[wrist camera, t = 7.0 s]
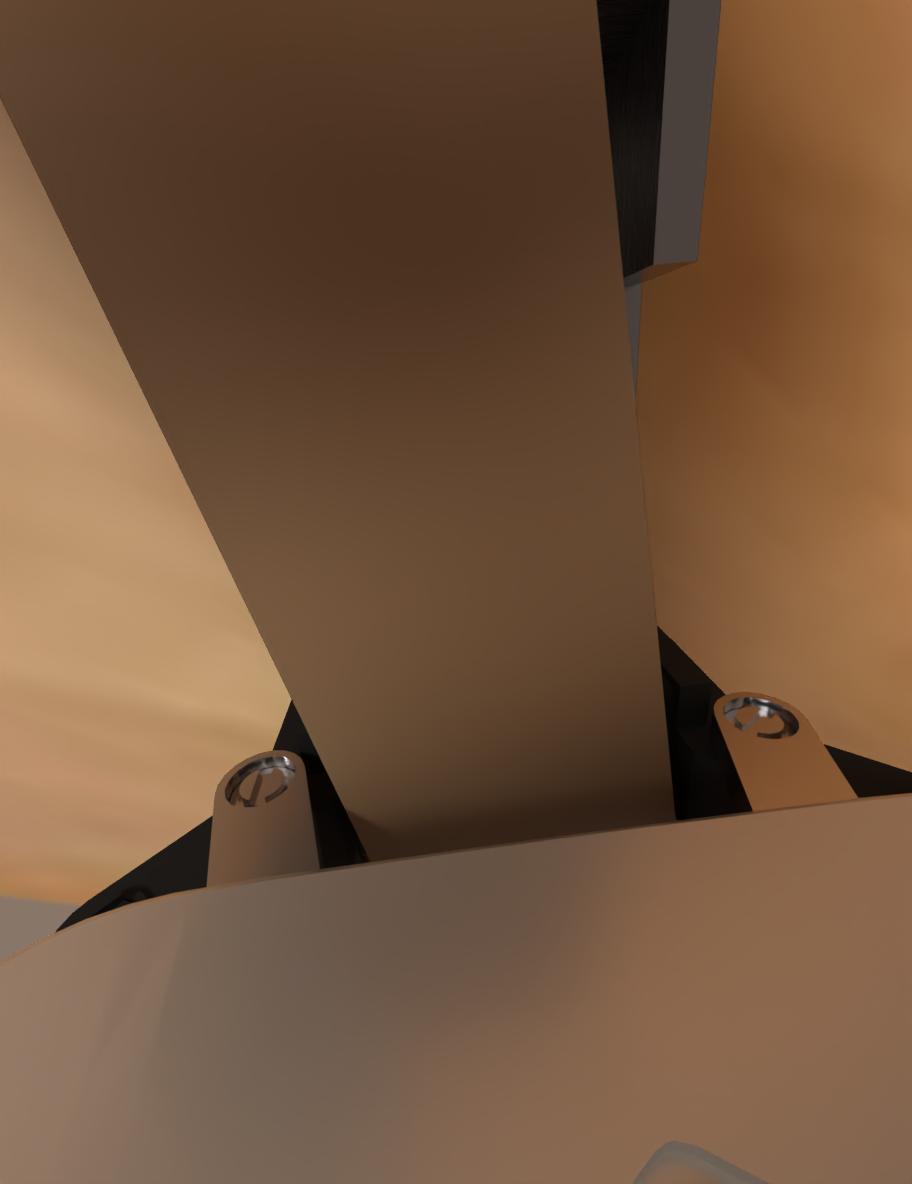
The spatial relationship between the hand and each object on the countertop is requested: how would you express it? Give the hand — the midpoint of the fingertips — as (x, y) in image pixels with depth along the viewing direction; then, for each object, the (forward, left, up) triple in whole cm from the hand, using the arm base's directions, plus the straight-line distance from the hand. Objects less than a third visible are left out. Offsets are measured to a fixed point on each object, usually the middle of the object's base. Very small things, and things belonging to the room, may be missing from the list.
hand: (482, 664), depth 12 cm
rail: (0, 0, -1) cm, 1 cm away
